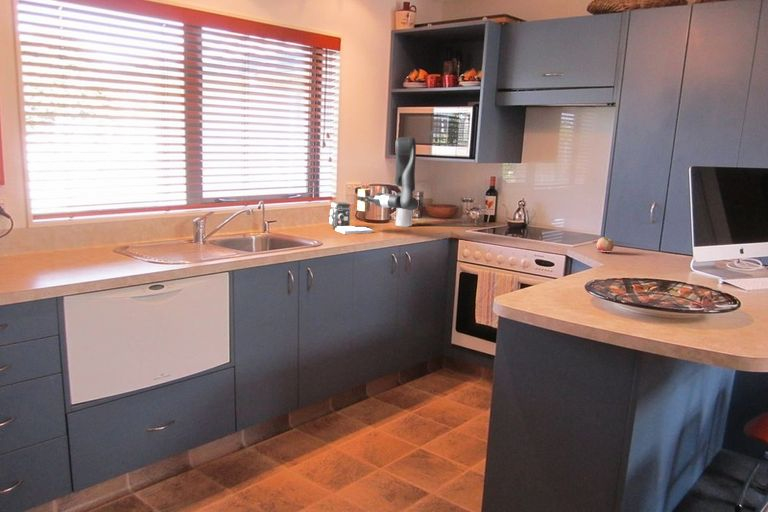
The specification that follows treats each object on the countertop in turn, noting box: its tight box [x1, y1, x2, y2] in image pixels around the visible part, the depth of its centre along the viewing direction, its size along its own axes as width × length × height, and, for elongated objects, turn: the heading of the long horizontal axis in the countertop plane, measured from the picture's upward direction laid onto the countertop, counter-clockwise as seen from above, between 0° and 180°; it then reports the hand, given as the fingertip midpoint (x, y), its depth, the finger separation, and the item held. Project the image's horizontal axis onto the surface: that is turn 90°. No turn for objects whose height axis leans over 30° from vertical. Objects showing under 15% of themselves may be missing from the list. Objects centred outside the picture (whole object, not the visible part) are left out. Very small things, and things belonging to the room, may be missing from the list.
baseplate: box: [334, 225, 374, 235], centre depth 346 cm, size 18×12×2 cm, turn 119°
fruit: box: [596, 236, 615, 252], centre depth 314 cm, size 8×8×8 cm
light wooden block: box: [356, 188, 371, 212], centre depth 346 cm, size 5×5×12 cm
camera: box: [328, 201, 351, 229], centre depth 354 cm, size 10×10×15 cm
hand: (360, 197), depth 347 cm, fingers closed on light wooden block, 5 cm apart
